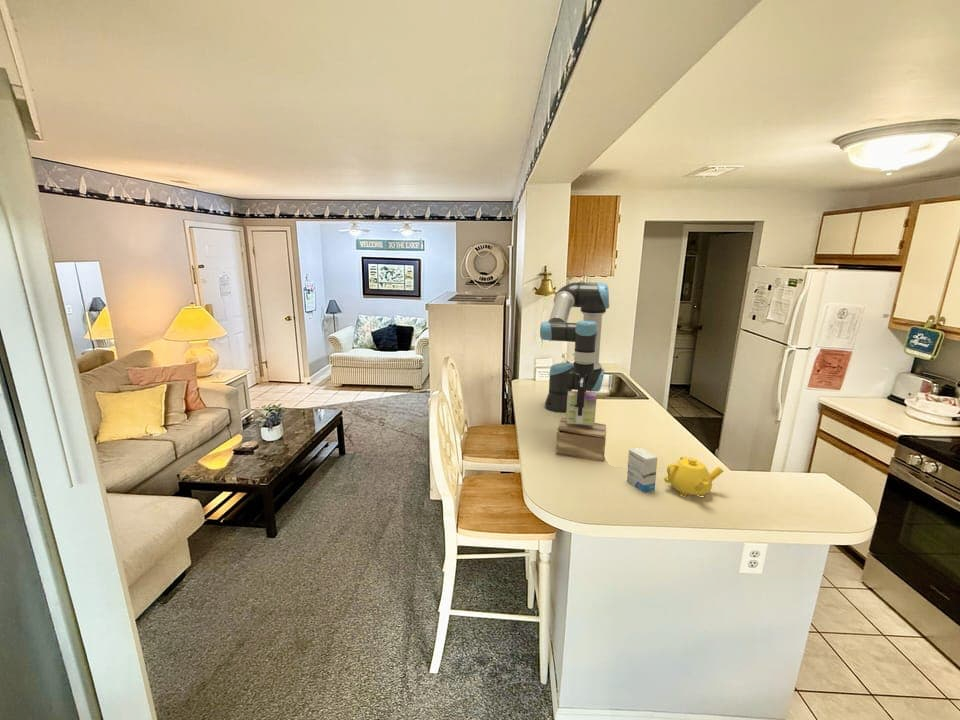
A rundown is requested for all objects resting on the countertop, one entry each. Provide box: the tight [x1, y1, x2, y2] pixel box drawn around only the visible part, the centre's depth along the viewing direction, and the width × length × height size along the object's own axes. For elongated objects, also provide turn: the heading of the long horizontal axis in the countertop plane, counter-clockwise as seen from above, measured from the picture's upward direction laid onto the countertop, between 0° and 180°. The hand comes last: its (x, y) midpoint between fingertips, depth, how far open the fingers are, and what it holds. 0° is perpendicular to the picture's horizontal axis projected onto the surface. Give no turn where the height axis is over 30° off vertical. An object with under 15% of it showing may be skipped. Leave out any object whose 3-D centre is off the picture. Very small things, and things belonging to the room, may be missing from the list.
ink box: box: [626, 447, 658, 493], centre depth 138 cm, size 9×5×12 cm, turn 19°
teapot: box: [663, 456, 724, 497], centre depth 134 cm, size 14×14×11 cm
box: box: [565, 390, 598, 425], centre depth 161 cm, size 10×6×12 cm, turn 84°
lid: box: [557, 417, 607, 438], centre depth 163 cm, size 12×17×1 cm
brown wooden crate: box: [555, 429, 607, 462], centre depth 164 cm, size 12×18×9 cm, turn 72°
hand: (580, 420), depth 162 cm, fingers closed on box, 6 cm apart
